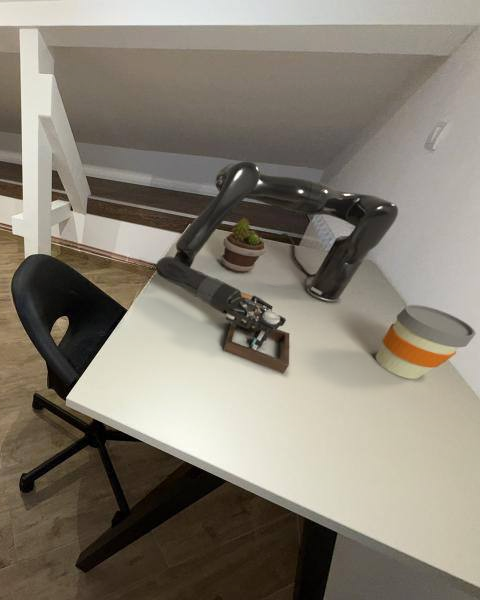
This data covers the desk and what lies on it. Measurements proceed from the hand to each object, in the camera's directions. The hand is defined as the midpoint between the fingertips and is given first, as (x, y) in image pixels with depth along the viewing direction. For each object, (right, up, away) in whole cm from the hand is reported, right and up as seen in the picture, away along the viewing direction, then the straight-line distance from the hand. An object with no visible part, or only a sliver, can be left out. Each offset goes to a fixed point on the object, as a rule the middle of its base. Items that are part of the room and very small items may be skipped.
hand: (278, 326), depth 76 cm
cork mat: (+4, +6, +25) cm, 26 cm away
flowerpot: (+12, +19, +45) cm, 50 cm away
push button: (-2, -6, +6) cm, 9 cm away
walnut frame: (-2, -6, +6) cm, 9 cm away
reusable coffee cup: (+33, -10, +4) cm, 35 cm away
